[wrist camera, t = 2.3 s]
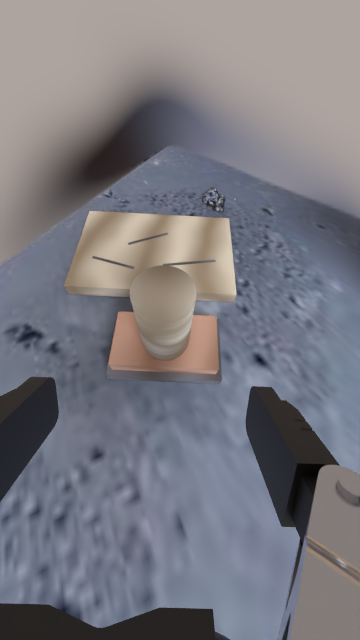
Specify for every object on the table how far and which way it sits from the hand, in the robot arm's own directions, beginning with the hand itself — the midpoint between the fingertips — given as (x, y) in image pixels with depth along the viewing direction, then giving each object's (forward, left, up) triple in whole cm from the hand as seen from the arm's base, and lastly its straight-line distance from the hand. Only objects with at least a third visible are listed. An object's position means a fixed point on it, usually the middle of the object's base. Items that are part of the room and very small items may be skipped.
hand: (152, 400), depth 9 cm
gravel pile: (-6, -30, -12) cm, 33 cm away
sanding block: (0, -6, -11) cm, 13 cm away
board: (+2, -18, -11) cm, 22 cm away
